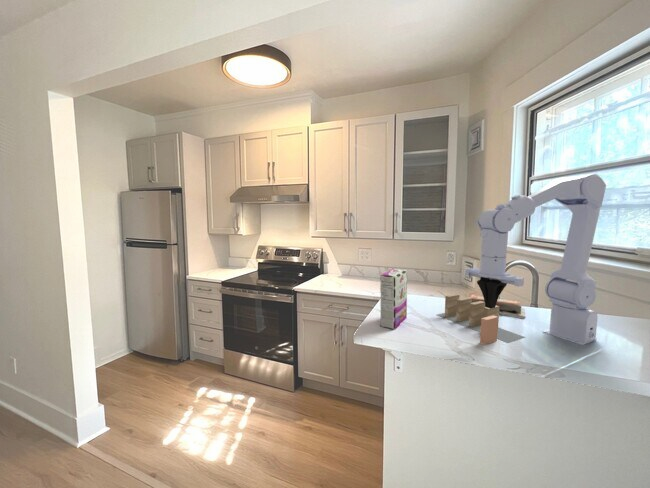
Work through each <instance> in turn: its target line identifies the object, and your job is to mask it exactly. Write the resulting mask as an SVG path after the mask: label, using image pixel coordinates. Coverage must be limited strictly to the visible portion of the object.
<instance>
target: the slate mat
mask: <svg viewBox="0 0 650 488" xmlns="http://www.w3.org/2000/svg"><path fill="white" fill-rule="evenodd" d="M436 316H438V317H439V318H443V319H445V320H448V321H451V322H453V323H456V324H457V325H459V326H462V327H464V328H465V327H466V328H467V329H471V330H473V331H475V332H478V333H481V325H479V326H476V327H471V326H469V320H467V321H463V322H458V321H456V316H453V317H449V318H448V317H445V312H441V313H439V314H436ZM525 338H526V336H523V335H521V334H518V333H515V332H513V331H509V330H507V329H504V328H501V327H498V332H497V341H501V342H503V343H506V344H510V343H513V342H516V341H518V340H521V339H525Z"/></svg>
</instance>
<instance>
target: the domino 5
mask: <svg viewBox="0 0 650 488" xmlns="http://www.w3.org/2000/svg"><path fill="white" fill-rule="evenodd" d="M498 328H499V322H498V317H497V316H494V315H493V316H489V317H485V318H481V333H480V332H479V333H480V336H479V342H480V344H483V345H488V344H491V343H494V342H497V341H498V339H497V332H498Z"/></svg>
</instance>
